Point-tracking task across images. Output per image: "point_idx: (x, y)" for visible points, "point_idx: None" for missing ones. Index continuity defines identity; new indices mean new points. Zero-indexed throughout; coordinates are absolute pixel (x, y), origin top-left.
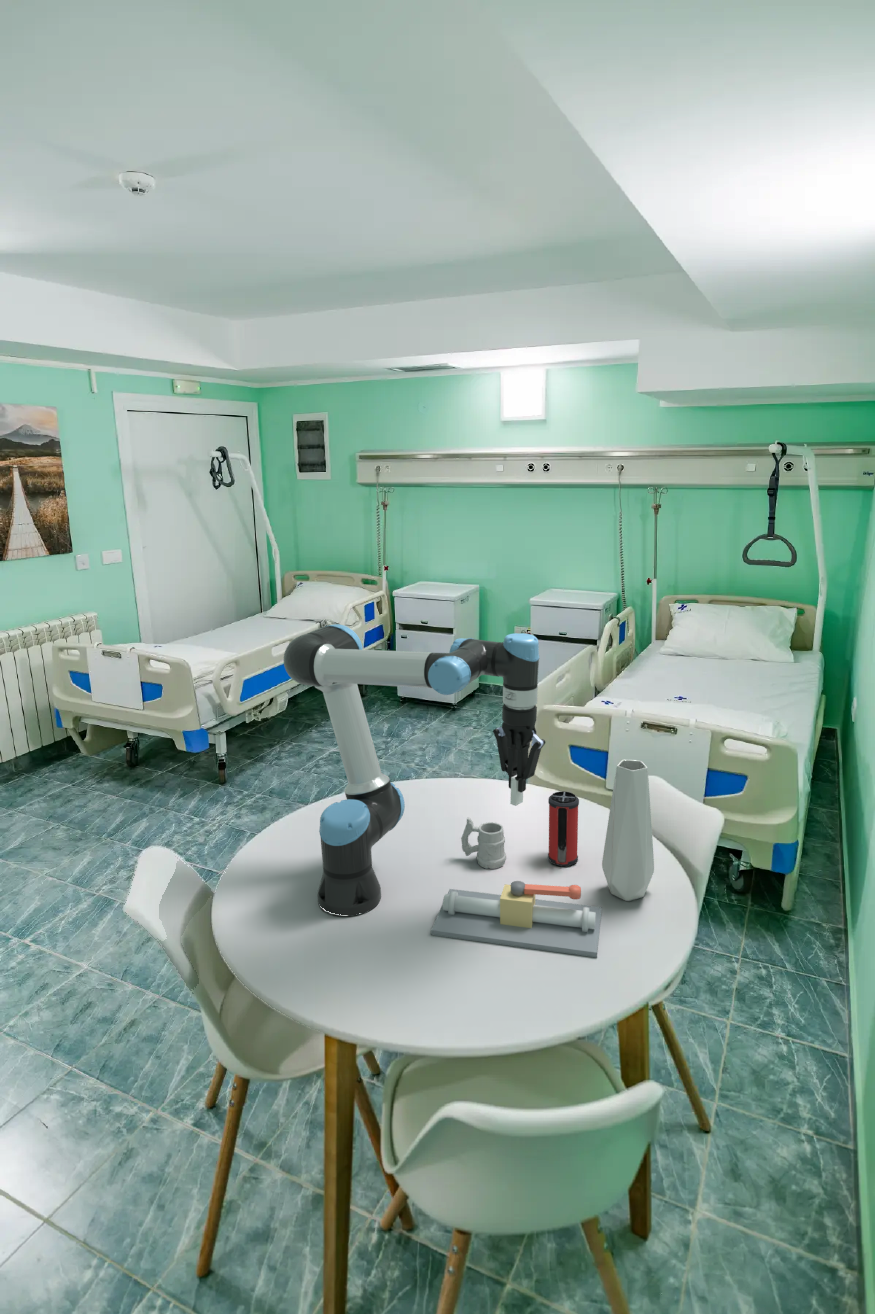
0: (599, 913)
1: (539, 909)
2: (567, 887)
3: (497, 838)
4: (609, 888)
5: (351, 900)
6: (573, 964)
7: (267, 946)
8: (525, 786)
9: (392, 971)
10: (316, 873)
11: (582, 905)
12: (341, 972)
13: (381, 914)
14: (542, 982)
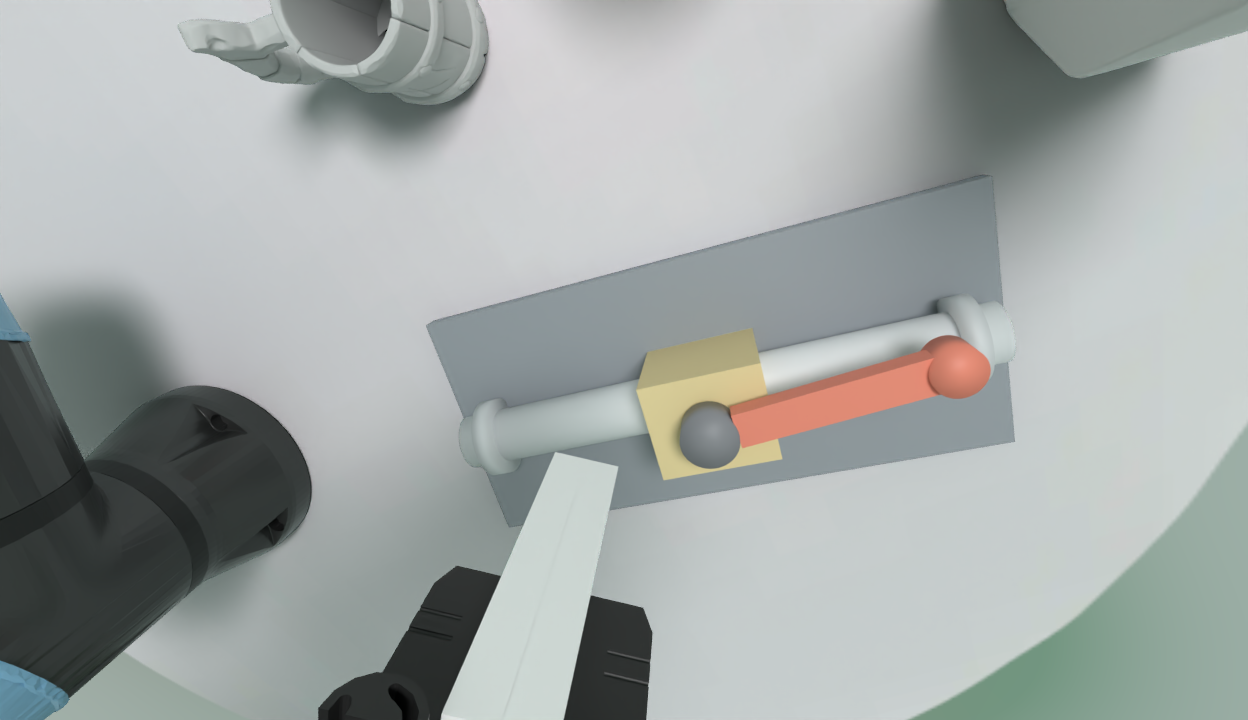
0: (990, 225)
1: None
2: (919, 367)
3: (412, 46)
4: (1007, 1)
5: (259, 552)
6: (937, 485)
7: (244, 668)
8: (647, 668)
9: None
10: None
11: (910, 202)
12: None
13: (346, 492)
14: (869, 575)
